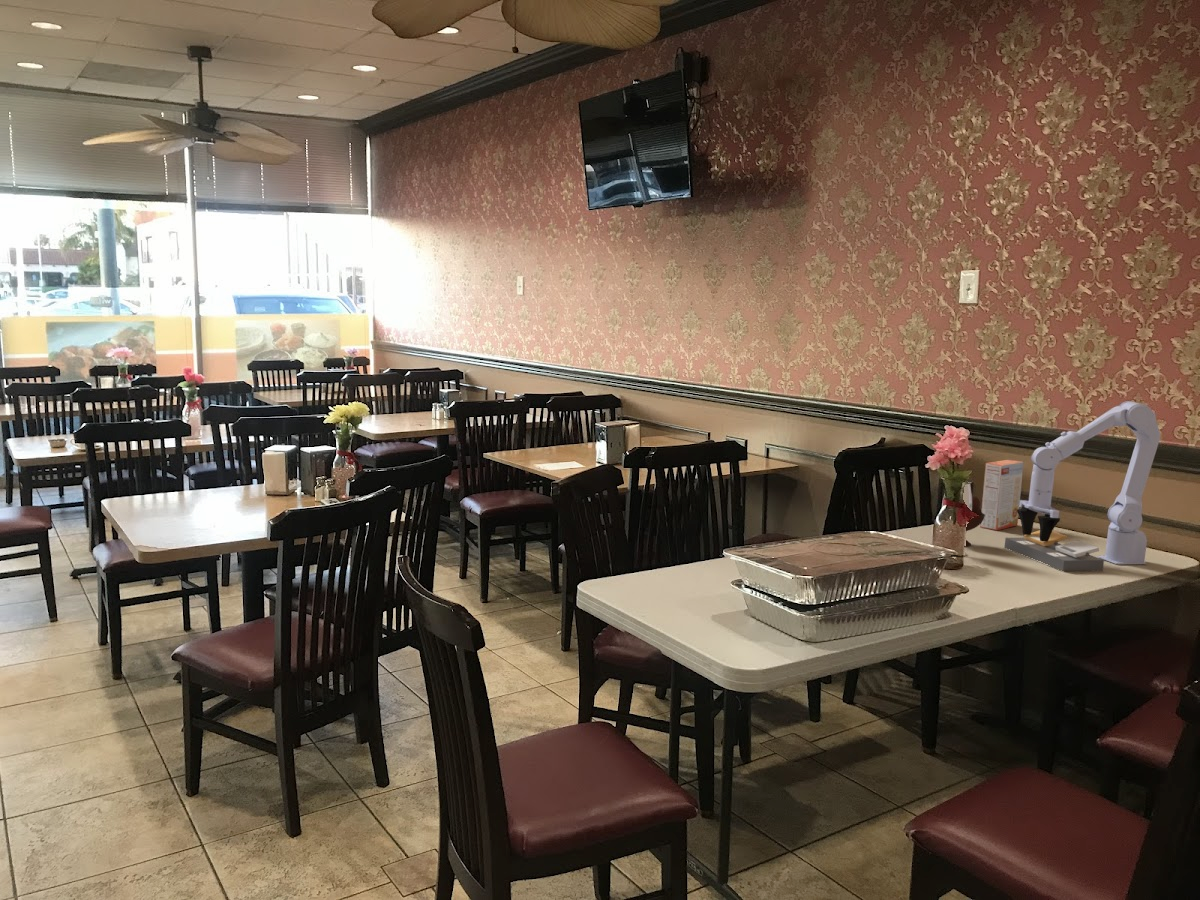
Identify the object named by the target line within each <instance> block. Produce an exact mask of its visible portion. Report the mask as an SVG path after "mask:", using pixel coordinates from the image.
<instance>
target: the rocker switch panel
mask: <svg viewBox="0 0 1200 900" xmlns="http://www.w3.org/2000/svg"><path fill="white" fill-rule="evenodd" d="M1004 541H1005V542H1004V547H1003V548H1004V549H1006V548H1007V549H1006V550H1009V549H1010V550H1009V551H1011V550H1012V552H1013V551H1015V552H1014V553H1016V552H1018V553H1020V554H1019V555H1021V554H1023V555H1025V556H1024V557H1026V556H1028V557H1030V558H1029V559H1031V558H1033V559H1035V560H1038V561H1041V562H1043V563H1045V564H1048V565H1050V566H1052V567H1051V568H1053V567H1055V568H1057V569H1059V570H1058V571H1060V570H1062V571H1078V572H1103V571H1104V564H1105V560H1104V559H1101V558H1098V557H1097V556H1094V555H1091V554H1089V556H1088V557H1087V556H1084V555H1083V556H1080V557H1076V558H1075V557H1073V556H1070V555H1068V554H1065V553H1062V552H1060V551H1057V550H1056V548H1055V546H1059V545H1063V543H1060V542H1058V544H1057V545H1054V544H1051V545H1048V546H1042V545H1040V544H1037V543H1034V542H1032V541H1029V540H1027V539H1024V537H1005V539H1004ZM1018 553H1017V554H1018ZM1023 555H1022V556H1023ZM1028 557H1027V558H1028ZM1033 559H1032V560H1033ZM1035 560H1034V561H1035ZM1038 561H1037V562H1038ZM1043 563H1042V564H1043ZM1045 564H1044V565H1045ZM1048 565H1047V566H1048ZM1050 566H1049V567H1050ZM1055 568H1054V569H1055ZM1057 569H1056V570H1057ZM1062 571H1061V572H1062Z"/></svg>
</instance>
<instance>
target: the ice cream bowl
mask: <svg viewBox="0 0 1200 900" xmlns="http://www.w3.org/2000/svg"><path fill="white" fill-rule="evenodd" d="M971 494H972V512H974V513H976V514H977V515H979V516H978V517H974V518H972V519H971V520H970V521H969V523H968V524H967V527H966V532H968V531H971V530H974V529H975V528H977V527H979V526H980V524H981V523H982V521H983V520H984V517H985V514H983V513H982V508H981V501H980V498H978V497H977V495H975V494H973V493H971ZM966 547H972V544H971V542H970V541H968V540H967V539H966Z"/></svg>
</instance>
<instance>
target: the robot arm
mask: <svg viewBox="0 0 1200 900" xmlns="http://www.w3.org/2000/svg"><path fill="white" fill-rule="evenodd" d="M1112 427H1128V428H1130V430H1131V432H1132V433H1133V434H1134V435H1135V437H1136V438H1137V439H1136V442H1135V445H1134V448H1133V451H1132V455H1131V458H1130V461H1129V465H1128V467H1127V471H1126V473H1125V478H1124V481H1123V483H1122V487H1121V491H1120V493H1119V494H1118V495H1117V496H1116V497H1115V500H1114V502H1113V504H1111V506H1110V507H1109V508H1108V509H1107V510H1108V511H1107V518H1108V521H1110V524H1109V525H1108V529H1107V537H1106V545H1105V552H1104V555H1103V554H1102V555H1097V556H1096V557H1097V558H1100V559H1102V560H1104V561H1107V562H1110V563H1112V564H1114V565H1147V561H1145V560H1146V559H1145V558H1146V554H1147V553H1146V552H1147V545H1148V544H1147V543H1148V539H1147V535H1146V533H1145V532H1143V531H1142V530H1140V527H1141V526H1142V524H1143V516H1142V513H1143V512H1142V511H1143V500H1142V497H1143V494H1144V491H1145V489H1146V485H1147V483H1148V482H1147V481H1148V479H1149V476H1150V472H1151V469H1152V465H1153V462H1154V459H1155V455H1156V453H1157V449H1158V447H1159V444H1160V440H1161V432H1160V430H1159V425H1158V422H1157V415H1156V413H1155V412H1154V411H1153V410H1152V409H1151V407H1150V406H1148V405H1146V404H1144V403H1138V402H1135V401H1132V400H1127V401H1124V402H1122V403H1120V404H1119V405H1116V406H1114V407H1112V408H1110V409H1109V410H1107V411H1105V413H1103V414H1102V415H1100V416H1099V417H1096V418H1095V419H1094V420H1092V421H1091V422H1089V423H1088V424H1086V425H1085V426H1083V427H1082V428H1080V429H1079V430H1077V431H1072V430H1068V431H1062V432H1061V433H1060V436H1059V437H1057V438H1056V439H1054V440H1052V441H1051V442H1049V441H1047V442H1046V443H1045V444H1044V445H1045V446H1041V447H1038V448H1036V449H1034V450H1033V452H1032V454H1031V457H1030V458H1031V461H1032V463H1033V467H1032V472H1031V477H1030V484H1029V485H1030V486H1029V495H1028V500H1023V499H1020V504H1019V509H1017V512H1018V514H1019V515H1018V518H1019V519H1020V523H1021V529H1022V535H1023V536H1024V535H1031V533H1033V528H1034V522H1035V519H1036V517H1037V519H1038V522H1039V530H1040V541H1048V540H1049V537H1050V535H1051V533H1052V531H1054V529H1055V527H1056V526H1057V525H1058V523H1059V522H1060V521H1061V518H1060V510H1057V509H1056V508H1054V507H1052V497H1053V490H1054V489H1053V488H1054V481H1055V470H1056V468H1057V467H1058V466H1059V463H1060V462H1061V461H1063V460H1065V459H1066V458H1068V457H1070V456H1072V455H1073V454H1075V453H1076V452H1078V451H1081V449H1083V447H1084V444H1085V442H1086V441H1088V440H1090V439H1092V438H1093V437H1094V438H1095V436H1098V435H1099V434H1100V433H1103V432H1105V431H1106V430H1108V429H1110V428H1112ZM1038 514H1042V515H1038ZM1037 515H1038V516H1037Z"/></svg>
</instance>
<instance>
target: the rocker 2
mask: <svg viewBox="0 0 1200 900" xmlns="http://www.w3.org/2000/svg"><path fill="white" fill-rule="evenodd" d="M1055 548H1056V550H1057V551H1060V552H1062V553H1065V554H1068V555H1070V556H1073V557H1075V558H1076V557H1080V556H1083V555H1084V556H1087V557H1088V556H1089V555H1091V554H1094V553H1097V552H1099V551H1100V549H1099V547H1098V546H1095V545H1092V544H1089V543H1087V542H1083V541H1081V540H1075V541H1071V542H1070V541H1069V542H1067V543H1062V545H1059V546H1055Z"/></svg>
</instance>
